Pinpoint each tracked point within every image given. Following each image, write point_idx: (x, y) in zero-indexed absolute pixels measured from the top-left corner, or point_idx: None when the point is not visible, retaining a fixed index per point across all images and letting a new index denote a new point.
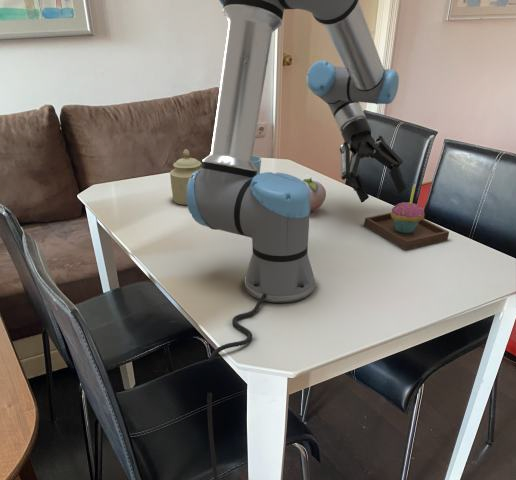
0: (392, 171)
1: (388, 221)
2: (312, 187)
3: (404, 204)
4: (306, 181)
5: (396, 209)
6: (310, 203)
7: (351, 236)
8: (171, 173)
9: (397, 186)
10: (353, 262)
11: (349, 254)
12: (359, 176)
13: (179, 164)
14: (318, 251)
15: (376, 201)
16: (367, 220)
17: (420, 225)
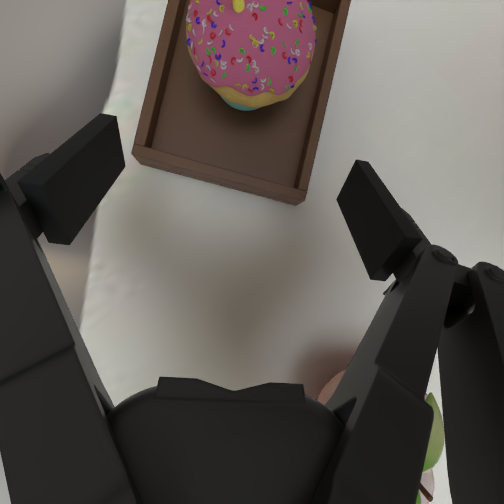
0: (65, 213)
1: (230, 159)
2: (441, 420)
3: (273, 18)
4: (420, 496)
5: (306, 46)
6: None
7: None
8: None
9: (111, 171)
10: (480, 74)
11: (458, 109)
12: (403, 230)
13: None
14: (498, 174)
15: (87, 329)
16: (307, 186)
17: (176, 64)
